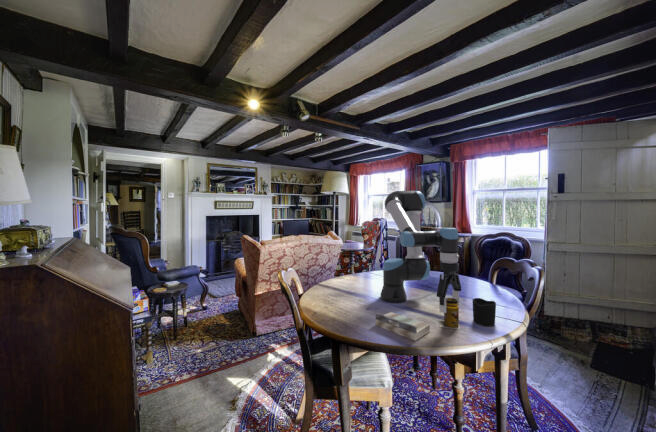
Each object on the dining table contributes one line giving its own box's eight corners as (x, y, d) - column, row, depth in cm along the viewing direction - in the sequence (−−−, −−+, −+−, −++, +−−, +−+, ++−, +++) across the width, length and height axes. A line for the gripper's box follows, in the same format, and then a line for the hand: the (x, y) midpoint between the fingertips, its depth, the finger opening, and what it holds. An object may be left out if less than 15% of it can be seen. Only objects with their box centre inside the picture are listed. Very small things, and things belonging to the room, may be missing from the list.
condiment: (460, 329, 117) (460, 302, 117) (439, 327, 120) (439, 301, 120) (458, 322, 124) (458, 297, 124) (438, 320, 127) (438, 295, 127)
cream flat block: (375, 325, 123) (375, 313, 122) (390, 317, 131) (390, 306, 131) (414, 341, 108) (414, 327, 108) (429, 331, 116) (429, 318, 116)
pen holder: (487, 318, 129) (487, 297, 129) (500, 326, 120) (500, 304, 119) (468, 318, 129) (468, 298, 128) (480, 327, 119) (480, 305, 119)
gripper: (445, 266, 110) (445, 318, 110) (468, 259, 127) (468, 303, 127) (427, 264, 116) (428, 313, 116) (452, 257, 132) (452, 300, 133)
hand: (449, 308), depth 122 cm, fingers open, 13 cm apart
